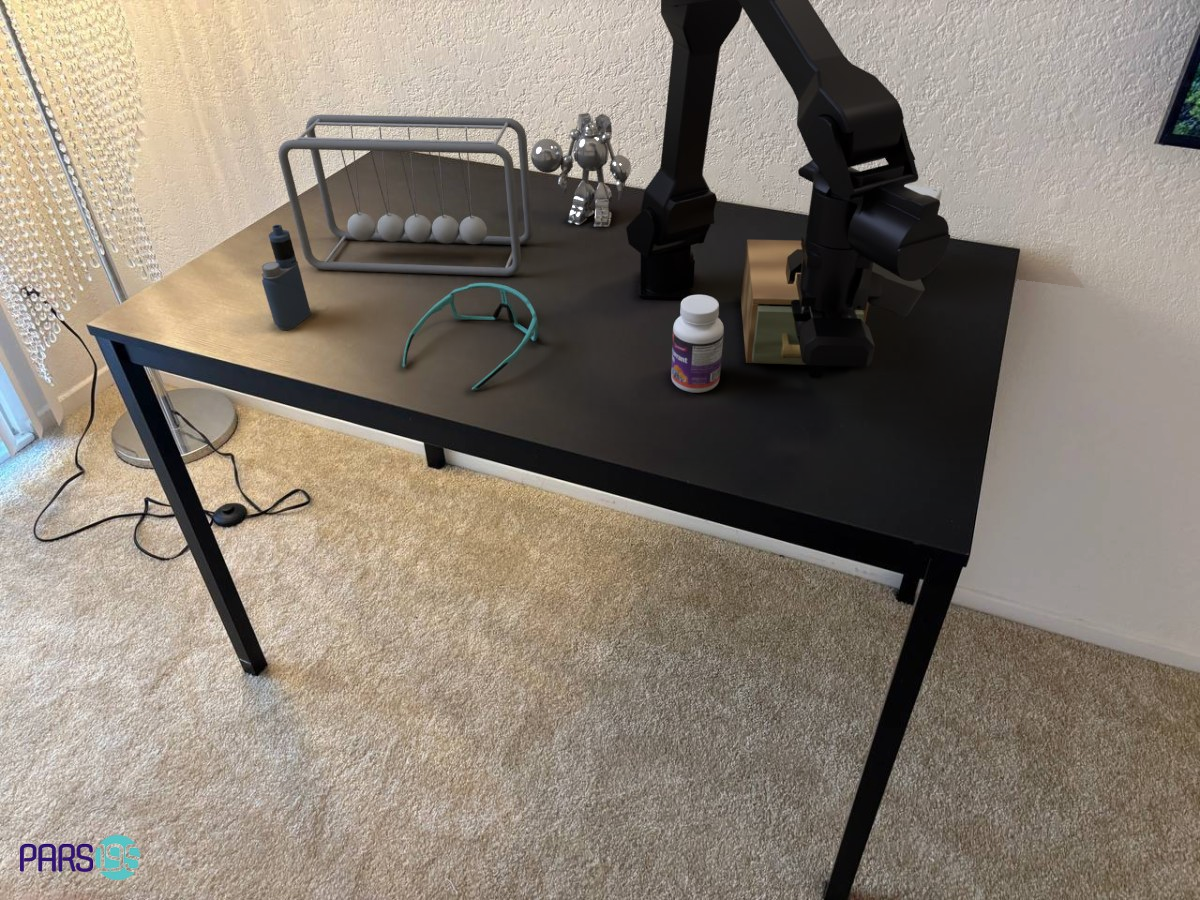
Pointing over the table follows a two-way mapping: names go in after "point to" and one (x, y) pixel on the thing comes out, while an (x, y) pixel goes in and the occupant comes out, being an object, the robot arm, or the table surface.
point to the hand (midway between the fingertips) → (814, 376)
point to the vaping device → (284, 283)
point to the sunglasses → (511, 315)
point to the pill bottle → (697, 344)
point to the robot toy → (585, 167)
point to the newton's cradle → (415, 225)
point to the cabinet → (766, 283)
